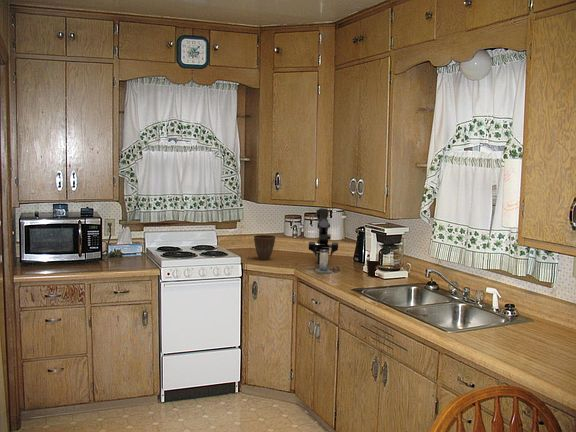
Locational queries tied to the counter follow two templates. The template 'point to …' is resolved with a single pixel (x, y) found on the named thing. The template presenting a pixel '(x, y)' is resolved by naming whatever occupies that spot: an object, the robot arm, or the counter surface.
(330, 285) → the counter surface
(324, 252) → the steel canister
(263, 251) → the plant pot
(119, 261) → the counter surface
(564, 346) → the counter surface
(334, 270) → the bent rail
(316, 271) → the slate pad
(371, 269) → the coffee mug
